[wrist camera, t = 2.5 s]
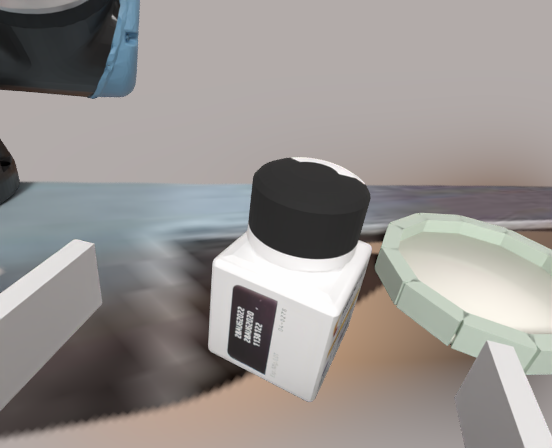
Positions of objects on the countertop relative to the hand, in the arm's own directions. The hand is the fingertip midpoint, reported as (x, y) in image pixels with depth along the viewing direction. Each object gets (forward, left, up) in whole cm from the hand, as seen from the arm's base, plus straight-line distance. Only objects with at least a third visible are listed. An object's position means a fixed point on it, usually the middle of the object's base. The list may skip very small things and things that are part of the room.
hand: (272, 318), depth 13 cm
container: (-2, +10, -12) cm, 15 cm away
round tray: (+12, +25, -11) cm, 30 cm away
